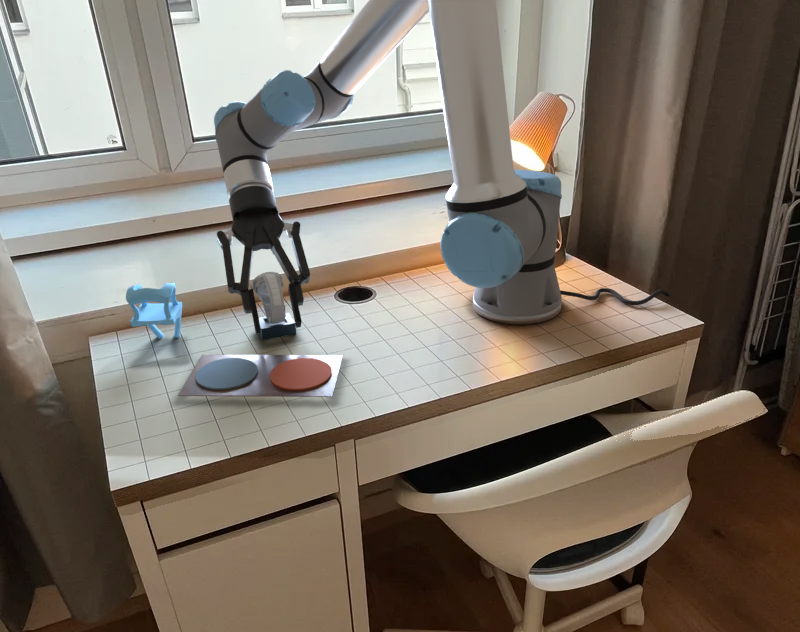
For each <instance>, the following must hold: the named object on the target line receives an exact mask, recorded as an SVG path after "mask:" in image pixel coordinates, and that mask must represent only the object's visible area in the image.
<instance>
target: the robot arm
mask: <svg viewBox="0 0 800 632" xmlns="http://www.w3.org/2000/svg"><path fill="white" fill-rule="evenodd" d="M427 14H429V21H430V27H431V34H432V35H431V36H432V41H433V48H434V56H435V62H436V69H437V76H438V83H439V89H440V96H441V104H442V111H443V117H444V124H445V130H446V137H447V144H448V151H449V158H450V165H451V172H452V179H453V183H452V185H451V187H450V188H449V189H448V191H447V193H446V194H445V203H446V210H447V217H448V222H447V224H446V226H445V228H444V230H443V232H442V235H441V238H440V253H441V257H442V260H443V262H444V264H445V266H446V268H447V269H448V270H449V272H450V273H451V274H452V275H453V276H454V277H456V278H458V279H459V280H460V281H461V282H462V283H464V284H466V285H468V286H470V287H473V288H474V291H473V295H472V308H473V310H474V311H475V312H476V313H477V314H478V315H479V316H481V317H483V318H485V319H487V320H490V321H493V322H496V323H500V324H506V325H522V326H523V325H535V324H539V323H544V322H547V321H549V320H551V319H553V318H555V317H556V316H558V315H559V313H560V312H561V310H562V302H563V301H562V300H563V299H562V296H568V297H574V298H579V299H583V300H586V301H587V300H588V301H596V300H597V299H599V297H600V295H601V293H608V294H611V295H613V296H614V297H615V298H616V299H617V300H618V301H620V302H621V303H623V304H625V305H629V306H640V305H644V304H647V303H648V302H650V301H651V300H653V299H654V298H655V297H657V296H658V295H664V296H665V297H671V296H672V295H671V294H670V292H668V290H665V289H657V290H656V291H654V292H653V293H651V294H650V295H649V296H647V297H645V298H643V299H640V300H629V299H627V298H624V297H623V296H622V295H621V294H620V293H618V292H617V290H614V289H612V288H609V287H601V288H598V289H597V290H596V292H595V295H586V294H583V293H579V292H573V291H567V290H561V288H560V284H559V279H558V276H557V271H556V268H555V262H556V261H555V260H556V251H557V241H558V240H557V239H558V231H559V220H560V209H561V200H562V199H563V195H562V181H561V178H560V177H559V176H558V175H555V174H554V173H550V172H545V171H538V170H528V169H514V158H513V151H512V141H511V133H510V123H509V114H508V103H507V95H506V85H505V77H504V67H503V58H502V57H503V56H502V49H501V47H502V46H501V39H500V38H501V37H500V31H499V22H498V21H499V20H498V9H497V3H496V0H368V1H367V2H366V3H365V5H364V6H363V7H362V8H361V9H360V11H359V12H358V13H357V14H356V16H355V17H354V18H353V19H352V20H351V22H350V23H349V24H348V26H346V28H345V29H344V30H343V32H341V34H340V35H339V36H338V37H337V39H336V40H335V41H334V42H333V44H332V45H331V46H330V47H329V49H328V50H327V51H326V52H325V53H324V54H323V56H322V57H321V58H320V60H319V61H318V62H317V63H316V64H315V66H313V68H312V69H311V70H310V71H309V72H308V73H307V74H306V75H301V74H299V73H298V72H294V71H292V70H290V69H284V70H281V71H279V72H278V73H277V74H276V75H274V76H273V77H272V78H270V79H268V80H267V81H266V82H265V84H263V86H262V87H261V88H260V89H259V90H258V91H257V93H255V95H253V97H252V98H250V99H249V100H248V101H247V102H243V101H232V102H229V103H228V104H227V105H222V106H220V107H219V108H218V109H217V110H216V112H215V114H214V116H213V124H214V134H215V136H214V139H215V141H216V144H217V149H218V154H219V158H220V163H221V167H222V172H223V178H224V183H225V188H226V193H227V197H228V198H229V199H228V203H229V209H230V214H231V218H232V225H231V228H230V229H228V230H224V231H223V230H218V231H217V232H216V238H217V239H216V240H217V243H218V245H219V247H220V249H221V251H222V256H223V262H224V268H225V277H226V278H225V279H226V283H227V292H228V293H229V294H237V295H239V296H240V298H241V303H242V309H243V312H244V313H245V315H246V314H251V316H252V322H253V326H254V327H253V328H254V331H255V335H260V333H261V327H260V322H259V318H260V317H259V313H258V307H257V302H256V297H255V291H254V290H253V289H251V288H250V287H249V286H250V278H251V272H252V263H253V258H254V257H253V256H254V252H257V251H258V252H259V251H260V250H270V251H271V253H272V255H273V256H274V257H275V259H276V260H277V262H278V264H279V266H280V268H281V270H282V271H283V273H284V276H286V278H287V280H288V282H289V283H288V289H287V292H288V296H289V300H290V306H291V310H292V315H293V320H294V322H295V326H296V329H297V328H301V327H302V316H301V312H300V307H301V306H304V301H305V299H304V294H303V289H302V285H305V284H308V283H309V282H310V278H311V272H310V267H309V265H308V260H307V256H306V253H305V250H304V246H303V242H302V239H301V236H300V232H301V222H299V221H294V222H293V223H288V222H285V221H284V220H283V218H282V217H281V216H280V213H279V208H278V202H277V199H276V194H275V192H274V189H275V188H274V184H273V179H272V175H271V170H270V164H269V162H268V158H267V154H268V152H269V151H270V150H271V149H273V148H274V147H275V146H277V145H278V144H279V143H280V142H281V141H282V140H283V139H284V138H286V137H287V136H288V135H290V134H291V133H294V132H295V131H298V130H302V129H304V128H307V127H310V126H312V125H315V124H319V123H321V122H324V121H327V120H332V119H335V118H338V117H339V116H341V115H342V114H344V113H346V112H347V111H348V110H349V109H350V108H351V106H352V105H353V101H354V96H355V93H356V92H357V91H358V90H359V89H360V88H361V87H362V86H363V84H365V83H366V81H367V80H368V79H369V78H370V77H371V76H372V75H373V74H374V73H375V71H376V70H377V69H379V67H380V66H381V65H382V64H383V63H384V62H385V61H386V59H387V58H388V57H389V56H390V55H391V54H392V53H393V52H394V51H395V50H396V48H397V47H399V45H400V44H401V43H402V42H403V41H404V40H405V39H406V37H408V36H409V34H410V33H411V32H412V31H413V30H414V29H415V28H416V27H417V25H419V23H421V21H422V20H423V19H424V18H425V17H426V16H427ZM283 232H285V233H286V235H287V237H288V238H289V239H291V246H292V250H293V253H294V257H295V259H296V264H297V268H298V272H299V274H298V272H297V270H296V269H295V267H294V266H293V264H292V262H291V260H290V258H289V256H288V255H287V253H286V251H285V249H284V248H283V246H282V243H281V241H280V237H281V236H282V234H283ZM234 238H235V239H236V240H237V241H238V242H240V244H242V245H243V246H244V249H243V256H242V257H243V258H242V266H241V274H240V281H239V282H236V279H235V272H234V264H233V258H232V249H231V246H232V245H233V239H234ZM249 288H250V289H249Z"/></svg>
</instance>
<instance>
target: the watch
mask: <svg viewBox="0 0 800 632" xmlns="http://www.w3.org/2000/svg"><path fill="white" fill-rule="evenodd" d="M283 288H284V280H283V276H282V275H281V274H280V273H279V272H276V271H266V272H262V273H260V274H258V275H257V276H255V277H254V278H253V281H252V284H250V289H253V291H254V293H255V294H256V295H257V297H258V300H259V301H261V302H262V306H263V311H264V313H265V316H260V317H259V322H260V327H261V333H260V334H259V336H260V338H261V340H262V341H267V340H272V339H277V338H282V337H283V338H284V337H288V336H293V335H297V328H296V325H295V320H294V318H293V316H292V315H291V313H290V312H286V305H285V299H284V293H283Z"/></svg>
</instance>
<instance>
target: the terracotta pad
mask: <svg viewBox="0 0 800 632" xmlns="http://www.w3.org/2000/svg"><path fill="white" fill-rule="evenodd" d="M331 374H332V370H331V367H330V366H329V365H328V364H327V363H326V362H324V361H322V360H319V359H314V358H297V359H292V360H288V361H285V362H283V363H281V364H279V365H277V366H276V367H275V368H273V370H272V371H271V373H270V380H271V382H272V383H273V384H274V385H275V386H277V387H279V388H281V389H285V390H294V391H298V390H307V389H312V388H315V387H318V386H320V385H322V384H324V383H325V382H326V381H328V380H329V378H330V377H331Z"/></svg>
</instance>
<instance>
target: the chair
mask: <svg viewBox="0 0 800 632" xmlns="http://www.w3.org/2000/svg"><path fill="white" fill-rule="evenodd" d="M176 289H177V288H176V283H175V282H173V281H172V282H170V283H169V282H166V283H164V284H163V286H162V287H161V288H152V287H144V288H143V285H142V283H138V284H133V285H131V286H129V287H128V288H127V289H126V293H125V300H126V302H127V304H128V305H129V307H130V308H131V309H132V312H133V316H132V318H131V319H130V321H129V323H130V327H132V328H134V327H144V326H147V327H148V329H149V330H150V331H151V332H152V333H153V334H154V335H155V336H156V338H157V339H159V340H161V339H163V338H164V337H165V335H164V333H163V332H162V331H161V330H160V329H159V328H158V326H160V325H161V326H172V325H173V326H174V335H173V338H175V339H179V338H180V337H181V329H182V328H181V327H182V311H183V307H184V306H183V302H182V301H178V300H177V297H176V291H177V290H176ZM151 302H152V303H151ZM138 304H139V305H138ZM136 305H138V307H137V306H136ZM156 325H157V326H156Z"/></svg>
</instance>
